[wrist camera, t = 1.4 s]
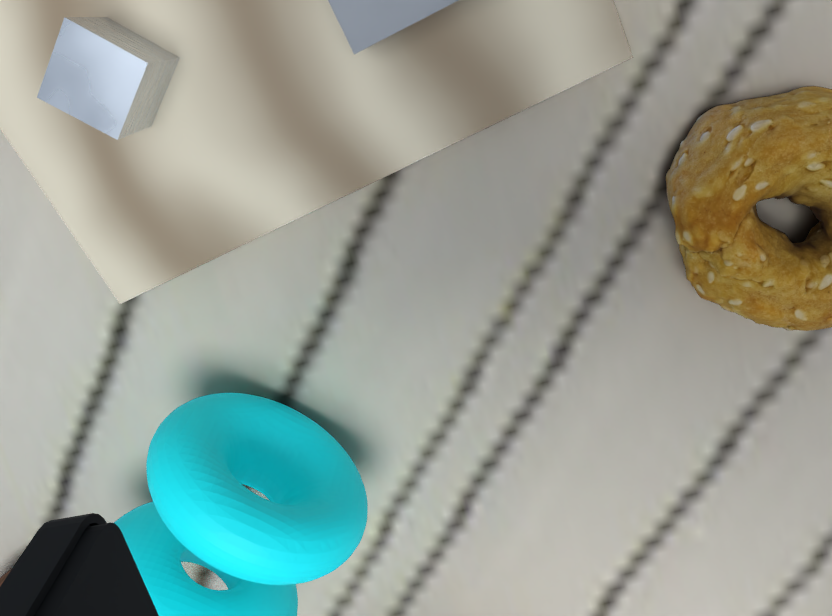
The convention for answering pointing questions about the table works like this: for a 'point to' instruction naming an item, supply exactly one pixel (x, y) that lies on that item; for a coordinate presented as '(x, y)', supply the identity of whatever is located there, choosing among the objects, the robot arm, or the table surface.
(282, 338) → the table surface
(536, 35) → the beige wavy cloth
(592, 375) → the table surface
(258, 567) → the donuts
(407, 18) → the dark grey box
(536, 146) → the table surface
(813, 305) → the bagel
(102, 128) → the silver metal cube
